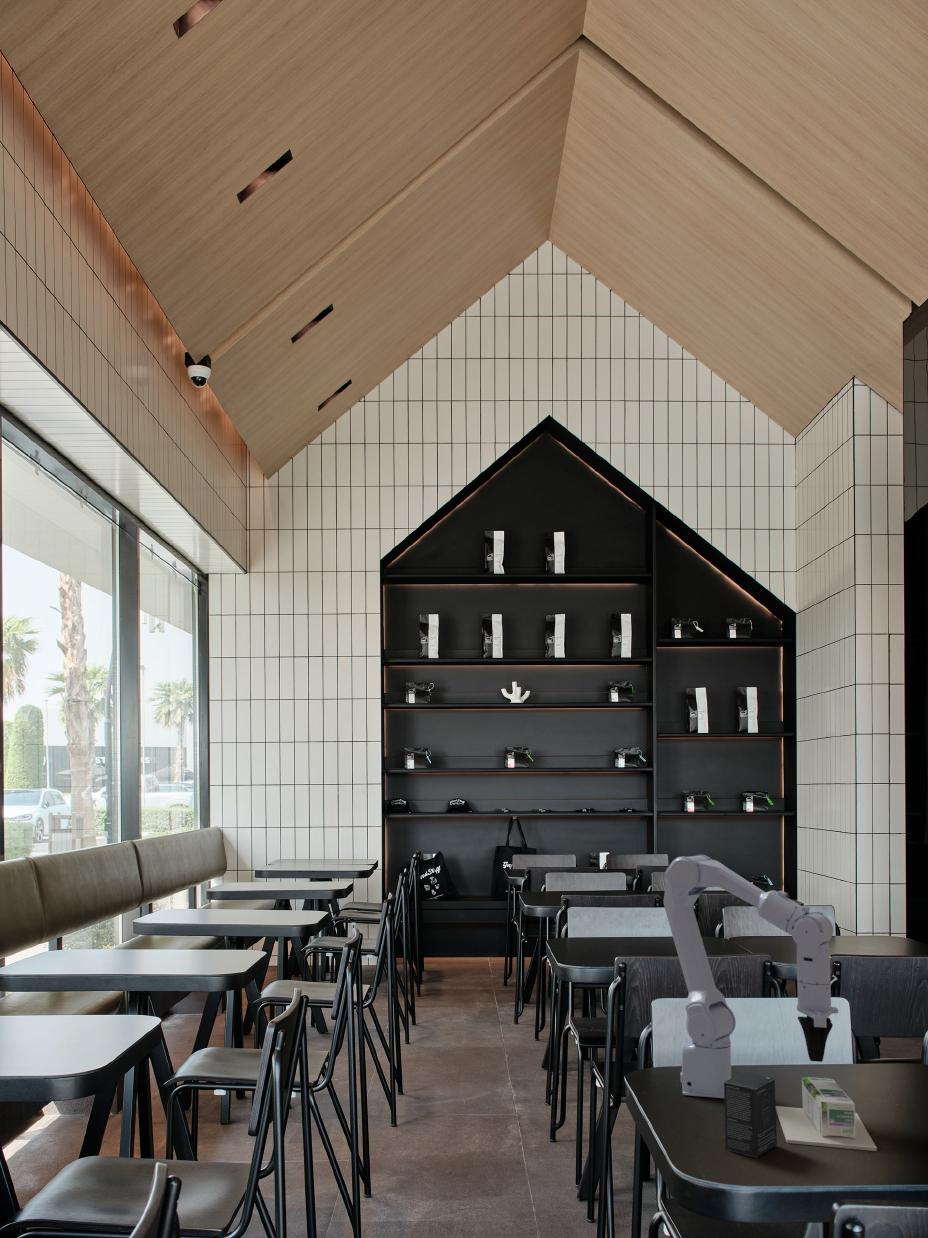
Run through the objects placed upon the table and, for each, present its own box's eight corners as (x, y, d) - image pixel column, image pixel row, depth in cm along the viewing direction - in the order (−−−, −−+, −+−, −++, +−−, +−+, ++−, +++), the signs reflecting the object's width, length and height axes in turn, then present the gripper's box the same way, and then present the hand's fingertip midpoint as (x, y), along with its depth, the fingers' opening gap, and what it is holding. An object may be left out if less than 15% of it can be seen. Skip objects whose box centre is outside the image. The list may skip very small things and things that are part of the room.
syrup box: (833, 1078, 183) (855, 1101, 168) (834, 1113, 181) (857, 1140, 167) (801, 1076, 183) (820, 1099, 169) (802, 1111, 182) (821, 1137, 168)
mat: (786, 1143, 167) (786, 1140, 167) (775, 1109, 184) (775, 1106, 184) (876, 1151, 164) (876, 1148, 164) (856, 1116, 181) (856, 1113, 181)
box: (745, 1138, 169) (744, 1071, 170) (777, 1146, 165) (776, 1078, 167) (723, 1150, 163) (722, 1080, 164) (757, 1159, 159) (755, 1088, 161)
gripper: (843, 991, 176) (846, 1073, 174) (830, 976, 190) (832, 1052, 188) (801, 988, 178) (803, 1070, 176) (791, 973, 192) (793, 1049, 190)
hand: (815, 1060), depth 182 cm, fingers closed
